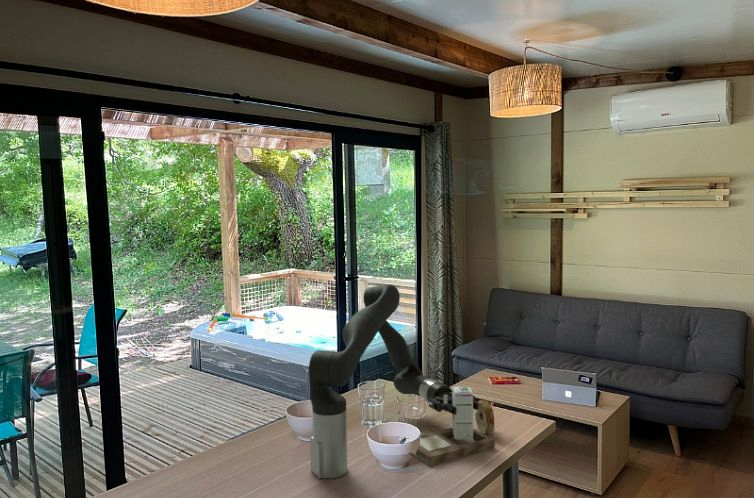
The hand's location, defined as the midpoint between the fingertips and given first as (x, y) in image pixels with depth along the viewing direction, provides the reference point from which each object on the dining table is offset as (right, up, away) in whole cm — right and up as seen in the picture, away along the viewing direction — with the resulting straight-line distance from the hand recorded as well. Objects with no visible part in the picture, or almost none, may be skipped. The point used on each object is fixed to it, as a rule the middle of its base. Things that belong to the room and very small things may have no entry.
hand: (466, 408), depth 169 cm
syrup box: (-1, -9, +2) cm, 9 cm away
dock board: (-6, -12, 0) cm, 13 cm away
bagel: (+8, -11, +12) cm, 18 cm away
